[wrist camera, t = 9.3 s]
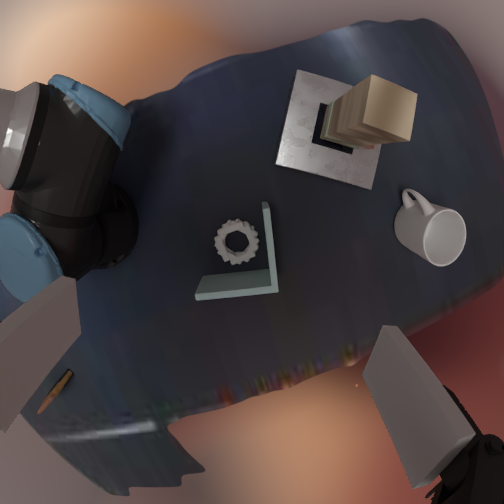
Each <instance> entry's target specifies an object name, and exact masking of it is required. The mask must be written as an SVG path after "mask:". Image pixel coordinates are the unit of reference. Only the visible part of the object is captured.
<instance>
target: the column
mask: <svg viewBox="0 0 504 504" xmlns="http://www.w3.org/2000/svg"><path fill="white" fill-rule="evenodd" d="M416 100H417V94H416V93H414V92H412V91H410V90H407V89H405V88H403V87H401V86H399V85H396V84H394V83H392V82H389V81H387V80H385V79H382V78H380V77H377V76H375V75H372V74H371V75H370V76H368V77H367V78H366V79H364V80H363V81H361V82H360V83H359V84H357V85H356V86H354V87H353V88H352V89H350V90H349V91H348V92H346V93H345V94H344V95H342V96H341V97H339V98H338V99H337V100H335V101H332V102H331V103H330V104H329V106H327V109H326V113H325V118H324V123H323V127H322V132H321V136H320V138H321V139H324V140H328V141H331V142H335V143H338V144H341V145H344V146H348V147H351V148H361V146H369V145H377V144H385V143H394V142H404V141H410V137H411V132H412V126H413V120H414V114H415V107H416Z"/></svg>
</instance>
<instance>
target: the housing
mask: <svg viewBox="0 0 504 504" xmlns="http://www.w3.org/2000/svg"><path fill="white" fill-rule="evenodd" d="M353 87H354V86H351V85H348V84H345V83H342V82H339V81H336V80H333V79H329V78H326V77H323V76H319V75H316V74H312V73H309V72H305V71H301V70H297V71H296V73H295V75H294V78H293V80H292V83H291V87H290V92H289V96H288V101H287V105H286V109H285V114H284V118H283V123H282V127H281V131H280V136H279V140H278V144H277V149H276V153H275V158H274V162H273V164H275V165H279V166H283V167H287V168H291V169H295V170H299V171H303V172H307V173H311V174H315V175H319V176H322V177H326V178H330V179H333V180H337V181H340V182H344V183H347V184H351V185H354V186H358V187H362V188H366V189H370V190H371V188H372V184H373V180H374V176H375V171H376V167H377V163H378V158H379V154H380V149H381V144H377V145H369V146H361V148H351V147H348V146H344V145H343V146H342V150H341V151H338V150H335V149H331V148H328V147H324V146H321V145H317V144H313V143H311V142H312V137H313V133H314V128H315V124H316V119H317V115H318V112H321V113H326V109H327V106H329V104H330V103H331V102H332V101H335V100H337V99H338V98H339V97H341V96H342V95H344V94H345V93H346V92H348V91H349V90H350V89H352V88H353Z"/></svg>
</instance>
